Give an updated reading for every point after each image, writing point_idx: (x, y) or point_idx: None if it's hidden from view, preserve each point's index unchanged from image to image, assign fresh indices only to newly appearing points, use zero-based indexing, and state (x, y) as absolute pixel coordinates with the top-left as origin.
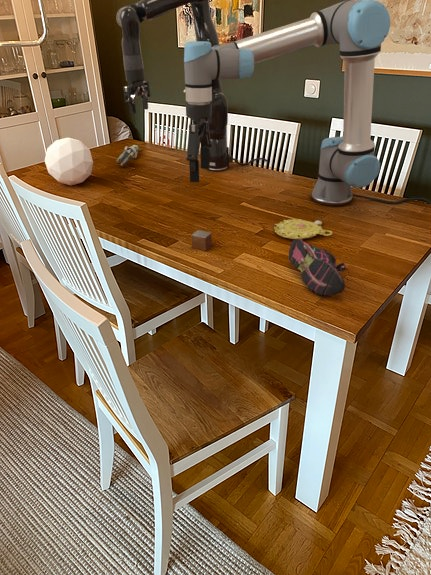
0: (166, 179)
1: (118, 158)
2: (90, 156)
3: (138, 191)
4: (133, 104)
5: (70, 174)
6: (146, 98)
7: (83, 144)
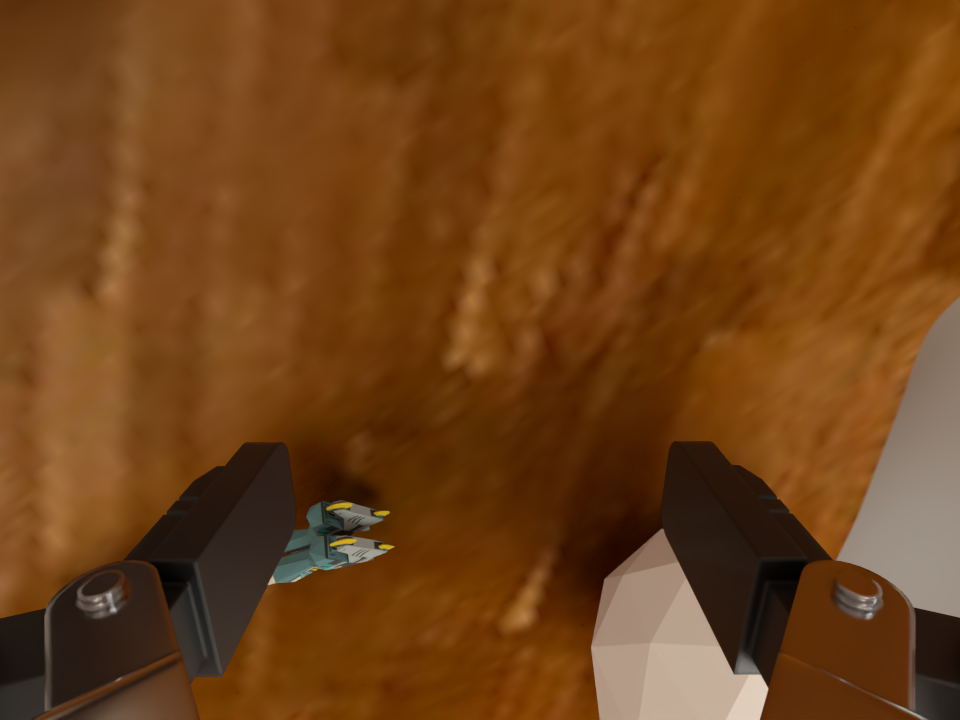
0: (439, 135)
1: (372, 554)
2: (685, 594)
3: (698, 177)
4: (797, 567)
5: None
6: (161, 586)
7: (699, 700)
